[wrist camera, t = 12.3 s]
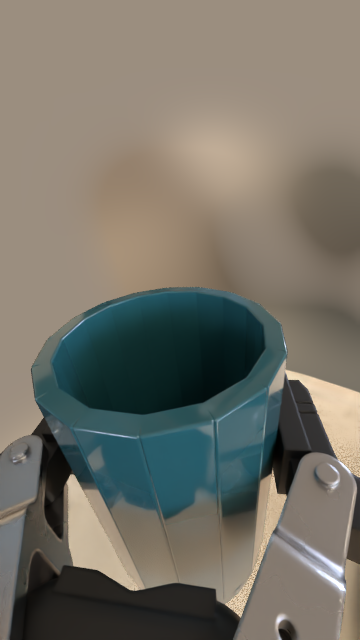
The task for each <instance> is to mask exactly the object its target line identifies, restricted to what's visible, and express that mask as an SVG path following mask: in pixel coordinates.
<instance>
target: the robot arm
mask: <svg viewBox="0 0 360 640" xmlns="http://www.w3.org/2000/svg"><path fill="white" fill-rule="evenodd" d="M273 472H274V477H275V483H276V488H277V494H286V495H287V499H286V501H285V504H284V507H283V510H282V512H281V515H280V518H279V521H278V524H277V526H276V528H275V530H274V531H273V533H272V535H271V537H270V540H269V542H268V545H267V548H266V550H265V553H264V556H263V559H262V561H261V564H260V567H259V570H258V572H257V575H256V578H255V581H254V583H253V586H252V589H251V592H250V594H249V597H248V600H247V603H246V605H245V608H244V611H243V614H242V616H241V618H240V617H239V616H238V615H237V614H236V613H235V612H234V611H232V610H231V609H230V608H229V607H227V606H226V605H224V604H223V603H221V602H219V601H217V596H216V589H213V588H207V587H201V586H194V585H188V584H182V583H170V584H166V585H161V586H156V587H152V588H147V589H142V590H138V591H131V590H129V589H127V588H125V587H124V586H122V585H121V584H119V583H117V582H116V581H114V580H113V579H111V578H109V577H108V576H106V575H105V574H103V573H101V572H100V571H98V570H93V569H86V568H80V567H74V566H73V562H72V557H71V553H70V550H69V544H68V485H67V483H66V482H67V480H68V478H69V476H70V474H74V473H73V471H72V469H71V467H70V465H69V463H68V461H67V459H66V458H65V456H64V454H63V452H62V450H61V448H60V446H59V444H58V443H57V441H56V439H55V437H54V435H53V433H52V431H51V429H50V427H49V426H48V424H47V422H46V420H45V418H43V419H42V421H41V422H40V424H39V425H38V426H37V428H36V429H35V430H34V432H33V433H32V434H31V435H28V436H24V437H22V438H20V439H17V440H16V441H14V442H13V443H11V444H10V445H9V446H8V447H7V448H6V449H5V450H4V451H3V452H2V453H1V454H0V640H339V638H340V631H341V624H342V617H343V610H344V603H345V595H346V580H345V577H344V574H345V565H346V559H349V560H351V561H353V562H356V563H358V564H360V478H359V477H357V476H355V475H354V474H352V473H351V472H350V471H349V469H348V468H347V467H346V466H345V465H344V464H343V463H342V462H340V461H339V460H338V459H337V457H336V455H335V453H334V451H333V449H332V446H331V444H330V442H329V439H328V437H327V434H326V432H325V430H324V427H323V425H322V422H321V420H320V417H319V415H318V414H317V410H316V408H315V405H314V404H313V401H312V398H311V396H310V393H309V391H308V389H307V388H306V387H305V386H304V385H303V384H302V383H301V382H300V381H299V380H288V378H287V375H286V373H285V377H284V384H283V392H282V400H281V407H280V415H279V422H278V430H277V438H276V445H275V453H274V461H273Z"/></svg>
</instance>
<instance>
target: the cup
mask: <svg viewBox="0 0 360 640" xmlns="http://www.w3.org/2000/svg"><path fill="white" fill-rule="evenodd" d="M286 361H287V347H286V343H285V338H284V334H283V329H282V325H281V324H280V322H279V321H278V320H277V319H276V318H275V317H274V316H272V315H271V314H270V313H269V312H268V311H267V310H266V309H265V308H264V307H263V306H262V305H261V304H259V303H257V302H254V301H252V300H249V299H247V298H244V297H242V296H239V295H237V294H234V293H231V292H227V291H220V290H214V289H208V288H200V287H175V288H162V289H156V290H149V291H143V292H137V293H133V294H130V295H126V296H123V297H120V298H117V299H113V300H110V301H107V302H104V303H102V304H100V305H98V306H96V307H94V308H92V309H90V310H88V311H86V312H84V313H82V314H80V315H78V316H76V317H74V318H73V319H71V320H70V321H69V322H68V323H66V324H65V325H64V326H63V327H61V328H60V329H59V330H58V331H57V332H55V333H54V334H53V335H52V336H51V337H49V338H48V340H47V341H46V342H45V344H44V346H43V348H42V350H41V351H40V353H39V354H38V356H37V358H36V360H35V361H34V363H33V365H32V368H31V374H32V382H33V389H34V397H35V401H36V403H37V405H38V406H39V409H40V410H41V412H42V414H43V416H44V418H45V420H46V422H47V424H48V426H49V427H50V429H51V431H52V433H53V435H54V437H55V439H56V441H57V443H58V444H59V446H60V448H61V450H62V452H63V454H64V456H65V458H66V459H67V461H68V463H69V465H70V467H71V469H72V471H73V473H74V475H75V476H76V478H77V480H78V482H79V484H80V486H81V488H82V490H83V492H84V493H85V495H86V497H87V499H88V501H89V503H90V505H91V507H92V509H93V510H94V512H95V514H96V516H97V518H98V520H99V522H100V524H101V526H102V527H103V529H104V531H105V533H106V535H107V537H108V539H109V541H110V542H111V544H112V546H113V548H114V550H115V552H116V554H117V556H118V558H119V559H120V561H121V563H122V565H123V567H124V569H125V571H126V572H127V574H128V575H129V576H130V578H131V579H132V580H133V582H134V583H135V584H136V586H137V587H138V588H139V590H142V589H147V588H152V587H156V586H161V585H166V584H170V583H182V584H188V585H194V586H201V587H207V588H213V589H216V596H217V601H219V602H221V603H223V604H226V603H227V602H229V601H230V600H231V599H232V598H233V597H234V596H235V595H237V594H238V593H239V591H240V590H241V589H242V588H243V586H244V585H245V584H246V582H247V581H248V579H249V577H250V576H251V574H252V572H253V570H254V567H255V565H256V562H257V559H258V556H259V552H260V547H261V544H262V541H263V537H264V529H265V522H266V514H267V506H268V499H269V491H270V484H271V476H272V468H273V461H274V453H275V445H276V438H277V430H278V422H279V415H280V407H281V400H282V392H283V384H284V377H285V369H286Z"/></svg>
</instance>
